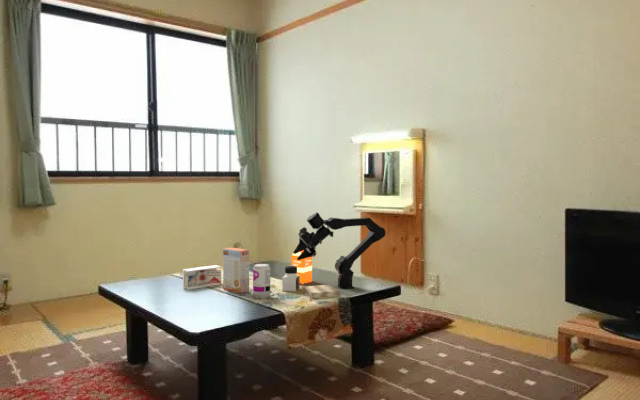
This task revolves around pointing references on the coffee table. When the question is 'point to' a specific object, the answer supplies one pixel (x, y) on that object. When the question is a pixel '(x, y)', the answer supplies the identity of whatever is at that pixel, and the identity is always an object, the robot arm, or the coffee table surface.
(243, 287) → the cracker box
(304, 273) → the orange juice
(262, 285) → the supplement can
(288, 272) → the medicine bottle
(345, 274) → the robot arm
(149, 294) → the coffee table surface
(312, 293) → the pale wooden riser board
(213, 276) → the cigarette display
